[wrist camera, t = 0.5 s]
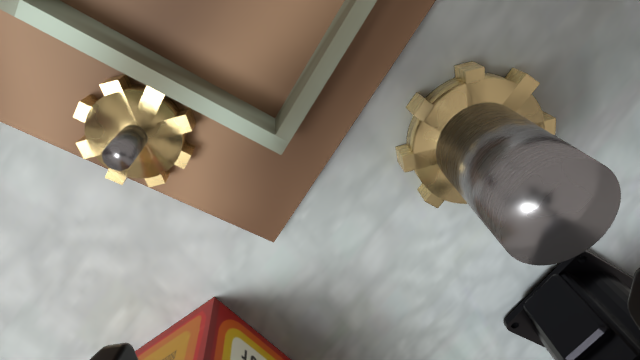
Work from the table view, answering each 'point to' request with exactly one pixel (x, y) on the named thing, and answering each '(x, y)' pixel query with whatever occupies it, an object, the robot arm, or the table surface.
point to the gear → (135, 131)
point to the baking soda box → (210, 338)
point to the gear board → (211, 84)
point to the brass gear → (508, 165)
